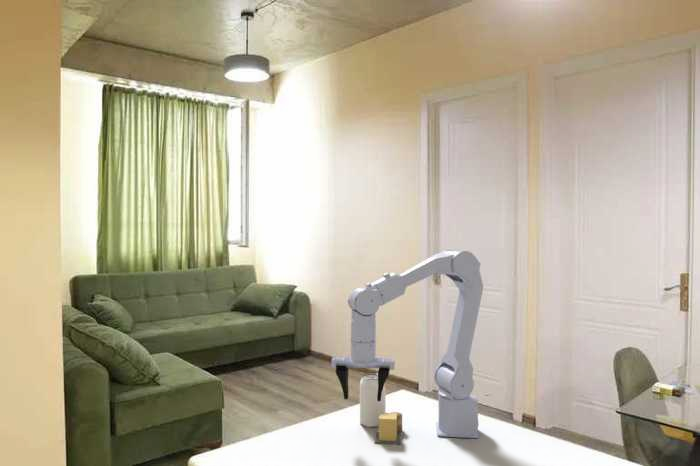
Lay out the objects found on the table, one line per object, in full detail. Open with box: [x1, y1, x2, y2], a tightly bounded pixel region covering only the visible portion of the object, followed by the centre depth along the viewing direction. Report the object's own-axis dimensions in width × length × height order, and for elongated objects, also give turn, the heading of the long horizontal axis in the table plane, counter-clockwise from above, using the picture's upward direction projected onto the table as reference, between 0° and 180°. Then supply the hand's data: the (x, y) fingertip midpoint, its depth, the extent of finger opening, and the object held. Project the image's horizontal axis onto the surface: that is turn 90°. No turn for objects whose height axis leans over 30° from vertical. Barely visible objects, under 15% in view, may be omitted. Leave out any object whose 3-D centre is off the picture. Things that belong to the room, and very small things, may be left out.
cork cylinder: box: [391, 411, 403, 434], centre depth 130 cm, size 3×3×4 cm
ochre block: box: [378, 412, 397, 441], centre depth 125 cm, size 4×4×5 cm
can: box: [359, 372, 386, 428], centre depth 135 cm, size 6×6×12 cm
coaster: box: [374, 431, 402, 445], centre depth 125 cm, size 6×6×1 cm
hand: (362, 399), depth 123 cm, fingers open, 7 cm apart
